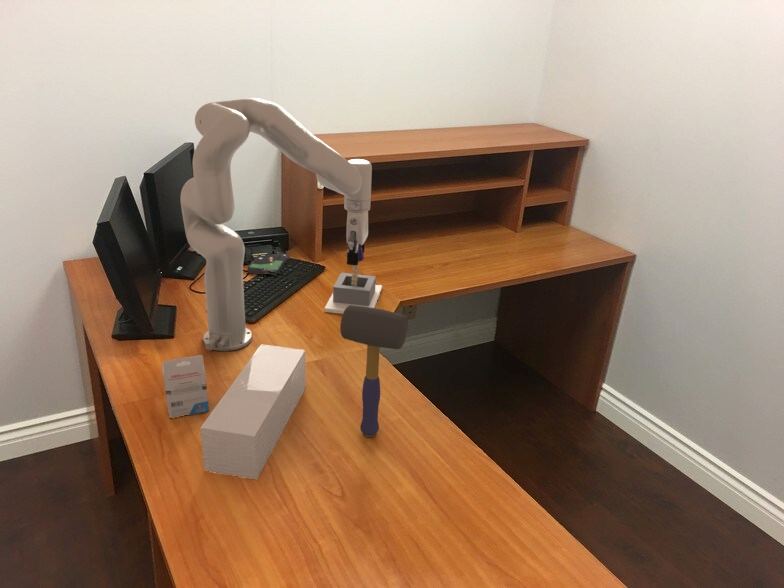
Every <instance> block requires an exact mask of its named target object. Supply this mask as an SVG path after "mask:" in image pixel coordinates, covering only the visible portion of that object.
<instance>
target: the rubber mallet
mask: <svg viewBox="0 0 784 588" xmlns="http://www.w3.org/2000/svg"><path fill="white" fill-rule="evenodd" d="M408 324H409V320H408V317H407V316H406V315H404V314H401V313H397V312H394V311H390V310H385V309H382V308H376V307H375V308H370V307H362V306H353V305H349V306H348V307H347V308H346V309H345V311H344V313H343V314H342V316H341V320H340V326H339V327H340V328H339V330H340V335H341V338H342V339H344V340H347V341H348V340H349V341H351V342H355V343H358V344H363V345H366V347H367V348H366V351H367V352H366V365H365V366H366V367H365V369H366V370H365V376H364V378H363V379H364V380H363V385H362V389H361V390H362V391H361V392H362V393H361V401H362V419H361V421H360V422H361V423H360V432H361V433H362V435H363V436H364V437H367V438H373V437H375V436H376V435H377V434H378V432H379V429H380V426H379V425H380V424H379V419H378V418H379V417H378V416H379V405H380V401H381V380H380V376H379V369H380V368H379V366H380V348H384V349H392V350H400V349H402V348H403V346H404V344H405V341H406V338H407V334H408V327H409V325H408Z"/></svg>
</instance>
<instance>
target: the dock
mask: <svg viewBox="0 0 784 588" xmlns="http://www.w3.org/2000/svg"><path fill="white" fill-rule="evenodd" d="M376 279H377V276H375V275H368V274H358V276H357V286H356V287H354V286H352V285H351V283H352V273H348V272H340V274H339V276H338V278H337V279H336V281H335V283H334V285H333V286H332V289H333V290H332V294H331V296H329V299H328V301H327V303H326V305H325V306H324V313H332V314H342V315H343V313H344V311H345V309H346V308H347V307H348V306H349V305H353V306H362V307H370V308H376V306H377V303H378V301H377V300H379V297H380V295H381V293H380V292H382V290H383V285H381V284H376Z"/></svg>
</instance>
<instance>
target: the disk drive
mask: <svg viewBox="0 0 784 588" xmlns="http://www.w3.org/2000/svg"><path fill="white" fill-rule="evenodd" d="M278 253H279V254H271V255H265V256H258V255H257V256H256V257H255V258H254V259H253V260H252V261H251V262H250V263H249V264H248V266H247V273H248V274H255V275H261V274H260V273H262V272H265V271H270V272H278V271H279V269H280V268H281V267H282V266H283V265H284V263H285V262H286V261H287V260H288V259H289V260H290V253H282V252H278Z"/></svg>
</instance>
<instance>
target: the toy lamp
mask: <svg viewBox="0 0 784 588" xmlns="http://www.w3.org/2000/svg"><path fill="white" fill-rule="evenodd" d="M354 246H355V248H356V245H354ZM357 252H358V265H357V266H356V265H352V273H351V274H352V283H351V285H352V286H354V287H356V286H357V276H358V273H359V262H362V261H364V259H365V257H364V253H363V250H362V247H361V246H360V245H358V251H357Z"/></svg>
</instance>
